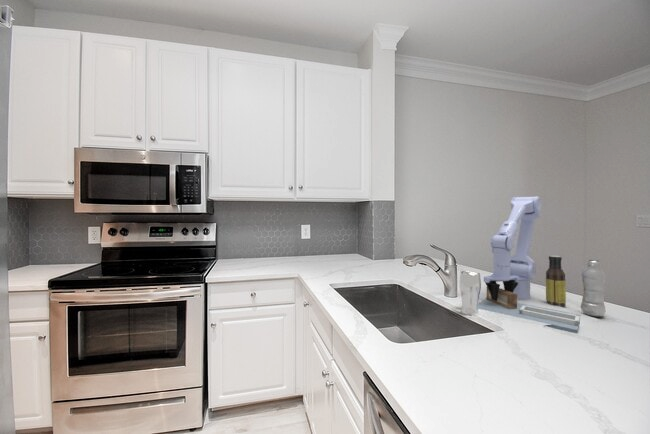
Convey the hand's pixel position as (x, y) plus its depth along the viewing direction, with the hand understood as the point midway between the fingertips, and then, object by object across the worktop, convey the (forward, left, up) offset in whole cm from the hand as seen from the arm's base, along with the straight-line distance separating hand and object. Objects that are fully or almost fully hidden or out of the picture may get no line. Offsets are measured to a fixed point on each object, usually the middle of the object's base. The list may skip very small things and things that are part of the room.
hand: (501, 299), depth 115 cm
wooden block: (0, 0, -2) cm, 2 cm away
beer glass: (+16, -6, -3) cm, 18 cm away
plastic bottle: (-12, +26, -3) cm, 29 cm away
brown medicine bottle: (-16, +16, -3) cm, 22 cm away
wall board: (+3, +8, -3) cm, 9 cm away
